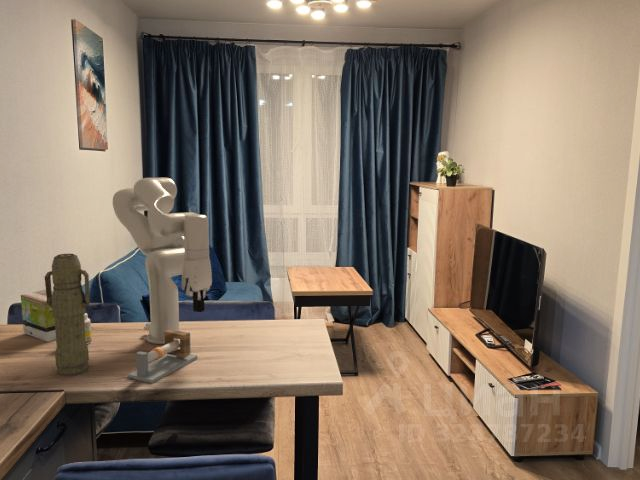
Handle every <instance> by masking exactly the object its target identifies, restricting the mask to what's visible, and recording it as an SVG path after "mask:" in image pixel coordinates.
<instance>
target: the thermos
mask: <svg viewBox="0 0 640 480" xmlns="http://www.w3.org/2000/svg"><path fill="white" fill-rule="evenodd" d="M51 263H52V264H51V271H48V272H47V273H46V274H45V275H44V284H45V285H44V287H45V290H46V295H47V304H48V305H49V306H50V307H51V308H52V313H53V317H54V318H55V330H56V340H55V341H56V343H55V344H56V349H55V352H54V358H55V366H56V374H57V375H58V376H61V377H72V376H73V377H74V376H78V375H82V374H84V373H86V372H87V371H89V369H90V366H89V362H90V361H89V360H90V358H89V357H90V356H89V355H90V354H89V347H88V344H86V337H85V321H84V314H85V313H87V311H86V310H87V309H86V306H89V305H90V301H91V297H90V296H91V295H90V278H89V273H88V272H87V271H86V270H85V269H84V270H83V269H82V266H81V261H80V260H79V257H78V255H76V254H75V253H60V254H56V256H54V257H53V260H52V262H51ZM82 275H83V276H84V289H85V290H84V289H83V285H82ZM51 276H52V278H51ZM52 284H53V287H52ZM52 291H53V294H52ZM84 291H85V292H84Z"/></svg>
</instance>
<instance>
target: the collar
mask: <svg viewBox="0 0 640 480" xmlns="http://www.w3.org/2000/svg"><path fill="white" fill-rule="evenodd" d="M181 331H182V330H179V331H176V330H170V329H169V330H167V331H165V332H164V337H165V344H164V345H166V344H168V343H170V342H172V341H174V338H175V339H180V347H179V348H177V349H175V350H173V351H171V352H169V353H167V354H170V355H174V356H179V357H184V358H185V357H187V356H188V355H189V333H190V332H187V331H182V332H181ZM167 354H166V355H167Z"/></svg>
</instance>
